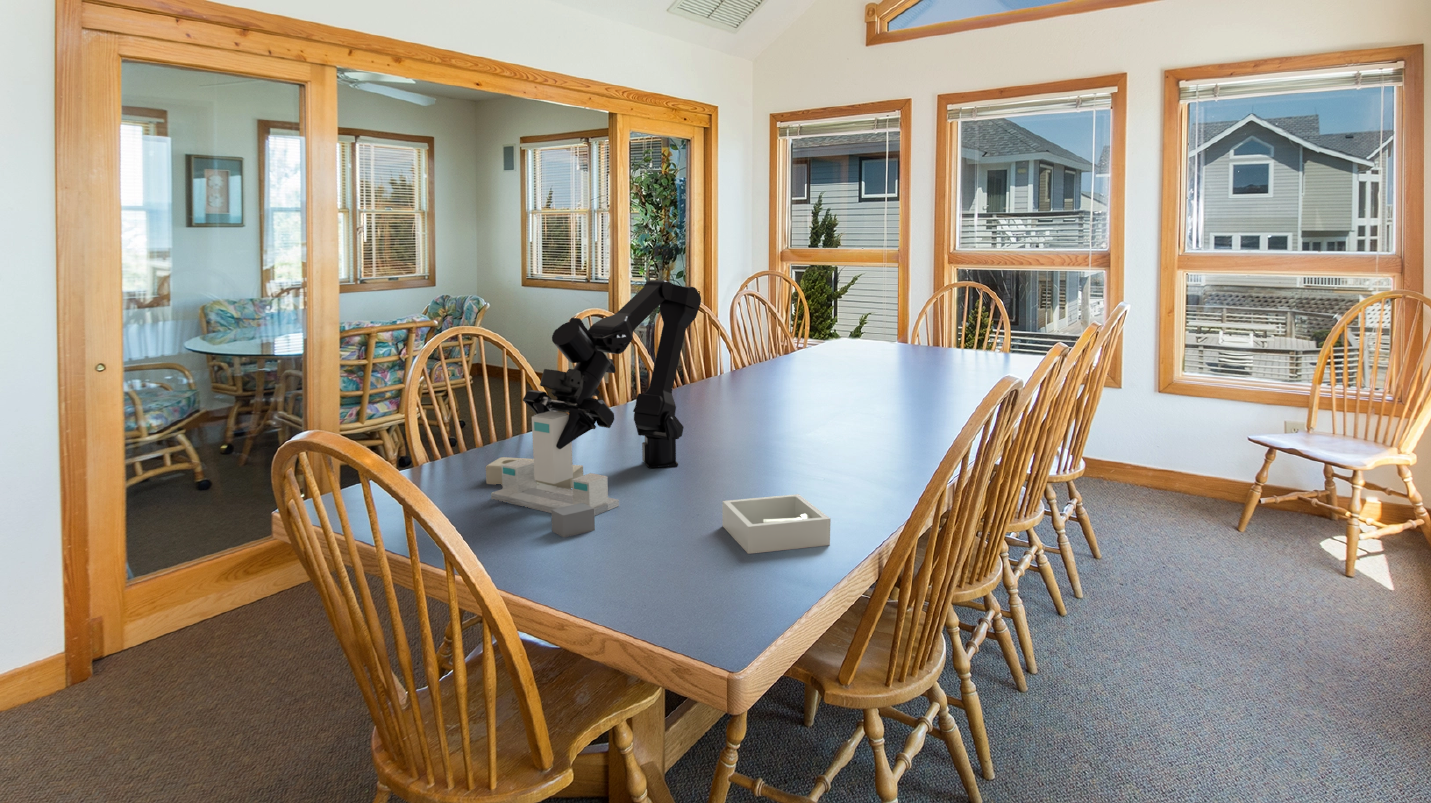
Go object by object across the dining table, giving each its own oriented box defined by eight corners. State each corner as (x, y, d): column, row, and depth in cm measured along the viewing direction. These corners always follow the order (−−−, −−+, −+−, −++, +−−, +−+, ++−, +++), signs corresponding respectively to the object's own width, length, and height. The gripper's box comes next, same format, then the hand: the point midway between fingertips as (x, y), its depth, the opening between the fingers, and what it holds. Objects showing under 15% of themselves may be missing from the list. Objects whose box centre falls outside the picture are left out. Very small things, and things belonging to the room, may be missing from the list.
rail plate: (529, 486, 181) (527, 456, 180) (619, 505, 169) (618, 473, 168) (491, 498, 173) (489, 467, 172) (582, 520, 161) (581, 486, 159)
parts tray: (798, 518, 162) (798, 494, 161) (829, 545, 148) (830, 518, 148) (722, 525, 158) (722, 500, 157) (748, 553, 145) (748, 526, 144)
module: (553, 473, 173) (550, 410, 171) (573, 477, 171) (570, 413, 168) (533, 479, 169) (530, 415, 167) (553, 484, 167) (551, 418, 164)
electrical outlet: (570, 470, 179) (484, 465, 182) (570, 490, 179) (486, 485, 183) (582, 461, 186) (500, 456, 189) (583, 480, 186) (501, 475, 190)
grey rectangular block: (582, 524, 159) (582, 502, 158) (594, 530, 156) (594, 508, 155) (552, 532, 155) (551, 509, 154) (564, 538, 152) (563, 515, 151)
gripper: (527, 348, 174) (486, 415, 167) (602, 356, 164) (562, 428, 157) (557, 382, 182) (520, 448, 175) (631, 392, 172) (594, 462, 165)
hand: (547, 445), depth 168 cm, fingers closed on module, 5 cm apart
